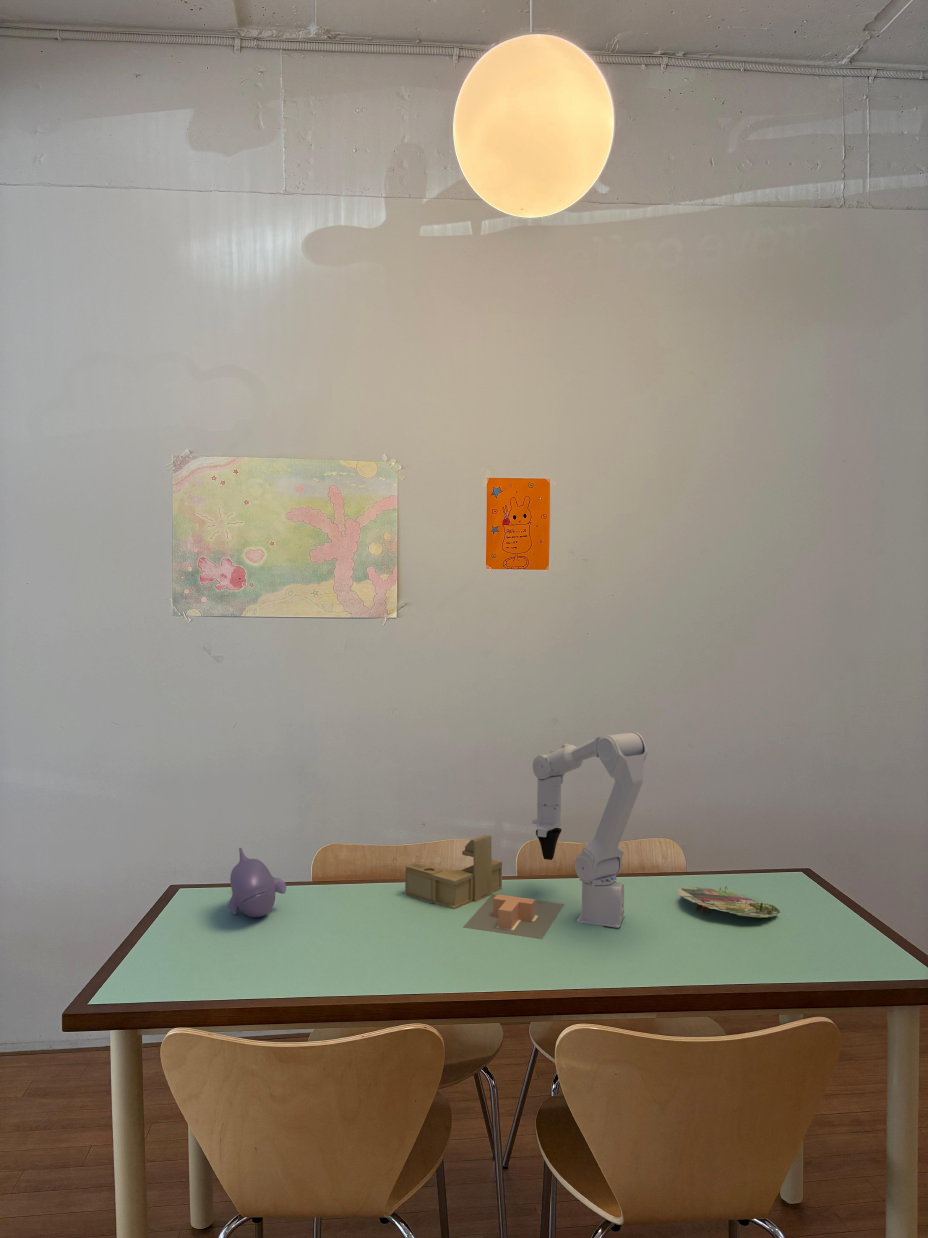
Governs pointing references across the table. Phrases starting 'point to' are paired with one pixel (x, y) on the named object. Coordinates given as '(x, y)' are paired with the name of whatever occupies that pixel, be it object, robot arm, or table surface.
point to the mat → (533, 929)
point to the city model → (726, 902)
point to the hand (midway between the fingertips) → (548, 859)
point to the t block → (512, 910)
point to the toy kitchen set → (457, 878)
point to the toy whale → (253, 887)
